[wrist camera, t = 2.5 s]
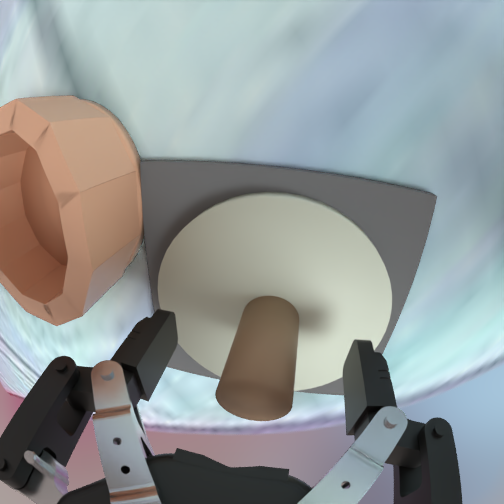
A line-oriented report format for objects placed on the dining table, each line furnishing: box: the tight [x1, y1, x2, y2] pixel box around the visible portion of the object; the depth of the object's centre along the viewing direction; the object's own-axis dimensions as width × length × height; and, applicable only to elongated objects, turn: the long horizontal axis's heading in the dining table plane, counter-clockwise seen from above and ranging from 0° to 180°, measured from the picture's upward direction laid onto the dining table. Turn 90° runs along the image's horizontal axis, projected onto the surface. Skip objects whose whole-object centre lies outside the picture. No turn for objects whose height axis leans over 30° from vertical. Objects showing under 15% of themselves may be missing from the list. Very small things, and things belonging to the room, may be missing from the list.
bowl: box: [0, 96, 144, 326], centre depth 12 cm, size 12×12×5 cm
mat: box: [140, 160, 437, 395], centre depth 15 cm, size 14×14×1 cm
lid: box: [158, 192, 392, 421], centre depth 12 cm, size 12×12×6 cm
